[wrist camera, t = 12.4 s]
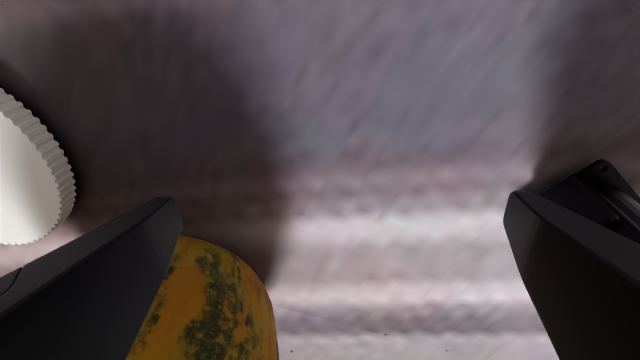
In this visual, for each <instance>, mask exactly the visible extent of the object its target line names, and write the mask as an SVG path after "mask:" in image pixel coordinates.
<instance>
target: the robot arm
mask: <svg viewBox="0 0 640 360" xmlns="http://www.w3.org/2000/svg"><path fill="white" fill-rule="evenodd" d="M602 166H603V167H602ZM600 167H602V168H601V169H599V168H600ZM503 223H504V228H505V231H506V234H507V237H508V240H509V243H510V246H511V249H512V252H513V255H514V258H515V261H516V264H517V267H518V270H519V273H520V275H521V278H522V280H523V283H524V285H525V287H526V289H527V291H528V293H529V296H530V298H531V300H532V302H533V304H534V306H535V308H536V310H537V313H538V315H539V317H540V319H541V321H542V323H543V325H544V327H545V330H546V332H547V334H548V336H549V338H550V340H551V342H552V344H553V347H554V349H555V351H556V353H557V355H558V357H559V359H560V360H640V198H639V196H638V195H637V194H636V193H635V192H634V190H633V189H632V188H631V187H630V186H629V185H628V183H627V182H626V181H625V180H624V179H623V177H622V176H621V175H620V174H619V173H618V171H617V170H616V169H615V168H614V167H613V165H612V164H611V163H609V162H608V161H607V160H605V159H599V160H596V161H594V162H593V163H591V164H590V165H588V166H587V167H585V168H583V169H582V170H580V171H579V172H577V173H575V174H574V175H572V176H571V177H569V178H568V179H566V180H564V181H563V182H561V183H560V184H558V185H557V186H555V187H553V188H552V189H550V190H549V191H547V192H545V193H544V194H542V195H541V196H539V195H537V194H535V193H533V192H531V191H513V192H512V193H511V194H510V195H509V198H508V202H507V206H506V210H505V213H504V218H503ZM182 224H183V223H182V218H181V216H180V213H179V210H178V207H177V204H176V202H175V200H174V199H173V198H172V197H157V198H155V199H153V200H151V201H149V202H147V203H145V204H143V205H141V206H139V207H137V208H135V209H133V210H131V211H129V212H128V213H126V214H124V215H122V216H120V217H118V218H116V219H114V220H112V221H110V222H108V223H106V224H104V225H102V226H100V227H98V228H96V229H94V230H92V231H90V232H88V233H86V234H85V235H83V236H81V237H79V238H77V239H75V240H73V241H71V242H69V243H67V244H65V245H63V246H61V247H59V248H57V249H55V250H53V251H51V252H49V253H47V254H45V255H43V256H41V257H40V258H38V259H36V260H34V261H32V262H30V263H28V264H26V265H24V266H23V268H22V267H20V268H18V269H16V270H14V271H12V272H10V273H8V274H6V275H4V276H2V277H0V360H126V359H127V357H128V354H129V352H130V350H131V348H132V346H133V344H134V342H135V340H136V337H137V335H138V333H139V331H140V329H141V327H142V325H143V323H144V320H145V318H146V316H147V314H148V312H149V310H150V308H151V306H152V304H153V301H154V299H155V297H156V295H157V293H158V291H159V289H160V287H161V284H162V282H163V280H164V278H165V275H166V273H167V270H168V268H169V265H170V262H171V259H172V256H173V253H174V250H175V247H176V245H177V242H178V239H179V236H180V233H181V230H182Z"/></svg>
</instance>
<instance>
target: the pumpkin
mask: <svg viewBox="0 0 640 360" xmlns="http://www.w3.org/2000/svg"><path fill="white" fill-rule="evenodd" d="M126 360H279V353H278V342H277V335H276V328H275V319H274V314H273V308H272V303H271V300H270V298H269V296H268V293H267V291H266V289H265V287H264V286H263V284H262V282H261V281H260V279H259V278H258V276H257V275H256V273H255V272H254V271H253V270H252V269H251V268H250V267H249V265H248V264H246V263H245V262H244V261H243V260H242V259H240V258H239V257H238V256H236V255H235V254H233V253H232V252H230V251H228V250H226V249H224V248H222V247H220V246H218V245H215V244H212V243H210V242H207V241H204V240H200V239H197V238H192V237H188V236H182V235H180V236H179V239H178V242H177V245H176V247H175V250H174V253H173V256H172V259H171V262H170V265H169V268H168V270H167V273H166V275H165V278H164V280H163V282H162V284H161V287H160V289H159V291H158V293H157V295H156V297H155V299H154V301H153V304H152V306H151V308H150V310H149V312H148V314H147V316H146V318H145V320H144V323H143V325H142V327H141V329H140V331H139V333H138V335H137V337H136V340H135V342H134V344H133V346H132V348H131V350H130V352H129V354H128V357H127V359H126Z"/></svg>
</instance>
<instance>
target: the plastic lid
mask: <svg viewBox="0 0 640 360" xmlns="http://www.w3.org/2000/svg"><path fill="white" fill-rule="evenodd" d="M53 137H54V136H53V135H52V134H51V133H48V131H47V127H46V126H45V125H42V124H41V123H40V120H39V119H38V118H37V117H34V116H33V115H32V112H31V111H30V110H29V109H25V108H24V107H23V104H22V103H21V102H17V101H16V100H14V97H13V96H12V95H10V94H9V95H7V94H6V93H5V92H4V90H3V89H2V88H0V244H1V243H3V244H4V245H8V244H9V243H10V244H11V245H15V244H16V243H17V244H18V245H21V244H22V243H25V244H28V243H29V242H31V243H32V242H34V241H35V240H36V241H38V240H40V239H41V238H44V237H45V236H46V235H49V234H50V233H51V232H52V231H53V230H54V229H55V228H57V227H58V226H59V225H60V224H61V223H62V222H63V221H65V220H66V219H67V217H68V216H69V215H70V214H69V213H70V212H72V208H73V207H74V204H73V203H74V202H75V200H76V199H75V198H74V197H75V196H76V193H75V192H74V190H76V186H74V183H75V180H74V179H73V178H72V177H73V176H74V174H73V172H71V171H70V169H71V166H70V165H69V164H68V163H67V161H68V159H67V157H64V155H63V153H64V151H63V150H62V149H60V148H59V143H58V142H57V141H55V140H54V139H53Z"/></svg>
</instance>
